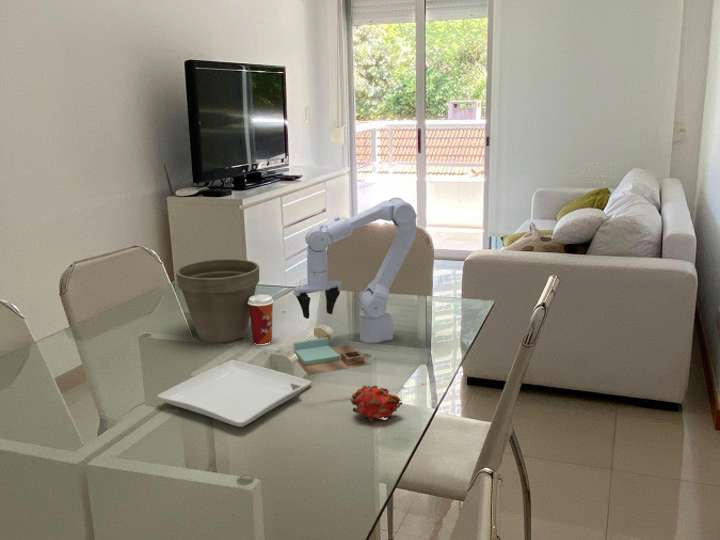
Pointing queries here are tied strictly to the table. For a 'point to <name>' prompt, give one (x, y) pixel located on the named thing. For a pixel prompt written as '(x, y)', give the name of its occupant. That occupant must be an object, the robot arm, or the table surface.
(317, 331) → the tan block with knob
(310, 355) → the cover
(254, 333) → the paper cup
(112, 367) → the table surface
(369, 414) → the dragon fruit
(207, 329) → the plant pot
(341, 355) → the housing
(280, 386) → the square plate
